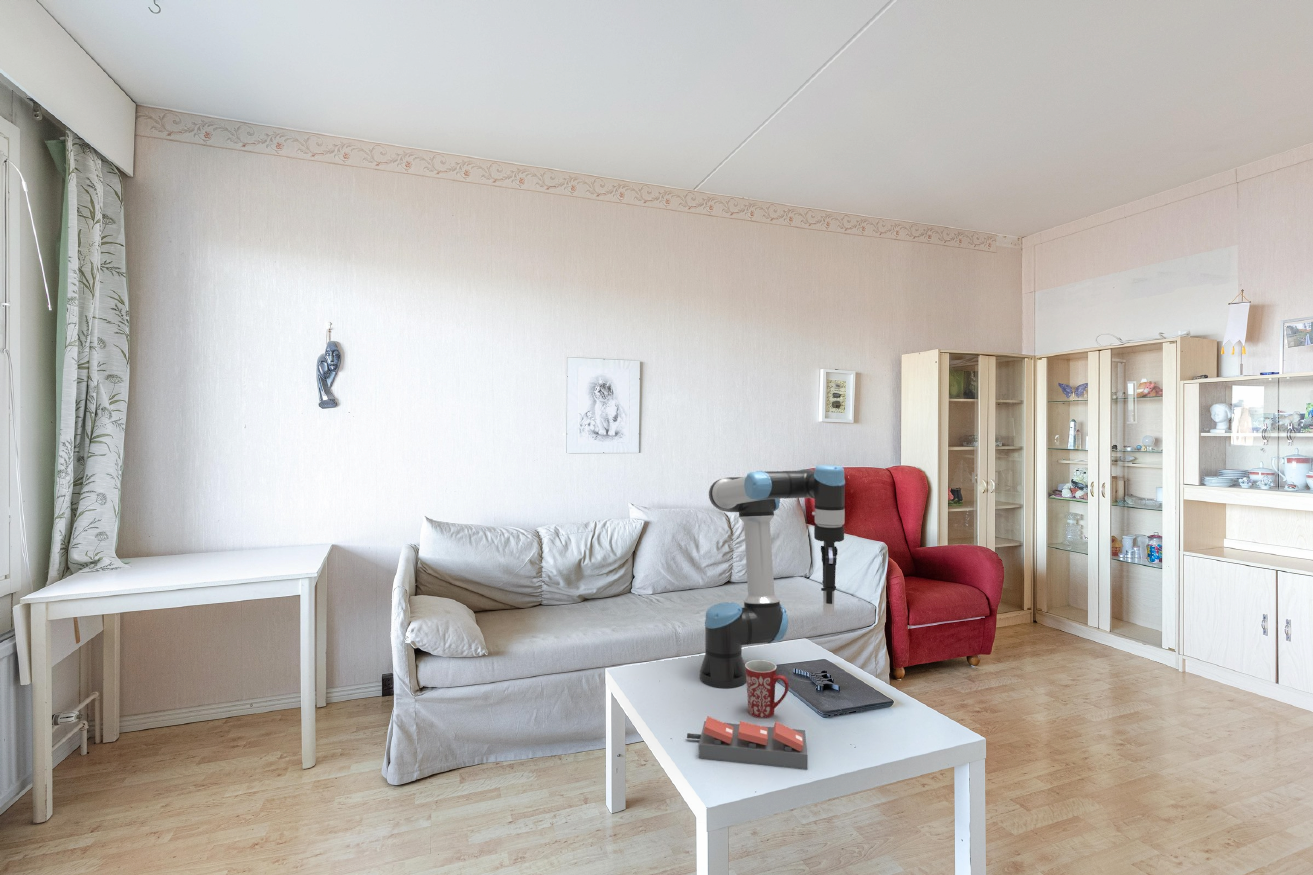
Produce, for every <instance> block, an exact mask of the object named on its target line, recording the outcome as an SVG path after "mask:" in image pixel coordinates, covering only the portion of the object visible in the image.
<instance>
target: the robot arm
mask: <svg viewBox="0 0 1313 875" xmlns="http://www.w3.org/2000/svg"><path fill="white" fill-rule="evenodd" d="M845 485H846V479H845V469H844V467H843V466H841V465H836V464H835V465H834V464H833V465H832V464H822V465H821V464H820V465H819V464H818V465H817V466H815V467H814V470H812V469H810V468H807V469H805V468H804V469H803V468H801V469H797V470H780V471H778V470H777V471H776V470H775V471H773V470H771V471H770V470H769V471H768V470H767V471H763V470H756V471H751V472H750V471H749V472H748V473H747V474H746V476H739V477H738V476H735V477H734V476H733V477H732V476H731V477H730V476H729V477H724V478H719V479H717V480H716V481H714V482H713V483H712V484H711V485H710V487H709V490H708V499H709V501H710V503H711V505H712V506H713V507H714V508H716V509H718V510H719V511H722V512H727V513H738V518H739V519H740V520H741V521H742V522H743V528H744V530H743V531H744V544H745V545H744V547H745V562H746V577H747V578H746V580H747V581H746V583H747V596H746V597H745V599H744V600H743V607H742V605H741V604H739V603H737V602H721V603H716V604H713V605H712V606H709V607H708V608H707V610H706V611H705V620H704V628H705V631H704V632H705V636H704V637H705V639H704V640H705V642H704V643H705V645H704V647H705V653H704V657H703V660H702V662H701V666H700V670H699V679H700V681H701V682H702V683H704V684H706V685H708V686H710V687H714V688H723V689H729V688H731V689H732V688H737V687H740V686H743V685H744V684H746V683H747V681H746V668H745V664H746V663H745V661H744V659H743V655H742V649H743V646H748V645H756V644H772V643H775V642H780V641H782V640H783V639H784V638H785V636H786V635H787V633H788V626H789V617H788V613H787V608H786V607H785V606H784V605H783V604H781V603H780V602H781V601H780V599H779V598H778V597H777V596H776V595H775V580H774V568H773V567H774V566H773V551H772V534H771V533H772V532H771V521H772V519H774V517H775V512H776V511H777V510H779V508H780V504H781V499H782V500H783V499H784V500H785V499H814V502H813V503H814V511H812V513H811V515H812V516H814V523H815V525H814V526H813V529H814V530H813V532H814V534H813V535H814V539H815V540H816V541H818V542H823V545H820V553H821V563H822V584H823V585H822V587H821V590H820V591H821V592H823V593H822V600H823V601H822V614H823V616H827V617H828V616H829V617H835V592H836V589H837V586H836V568H837V567H836V566H837V560H838V559H837V556H838V553H839V552H838V548H837V546H835V544H836V543H838V542H839V543H841V542H842V541H844V540H845V527H844V524H845V518H846V516H845V514H846V513H845V494H846V493H845V490H846V489H845V488H846V486H845Z"/></svg>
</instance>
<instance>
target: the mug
mask: <svg viewBox="0 0 1313 875" xmlns="http://www.w3.org/2000/svg"><path fill="white" fill-rule="evenodd" d="M744 664H745V668H746V691H747V692H746V694H747V696H746V698H747V709H748V710H747V712H748V714H750V715H751V716H752V717H755V718H758V719H759V718H760V719H767V718H771V717H772V716H774V714H775V708H776V707H778V706H779V705H780V703H782V701H783V700H784V699H785V698H786V696H787V694H788V692H789V687H790V685H789V680H788V678H787V677H786V676H785V675H782V674H777V664H775V662H772V661H769V660H763V659H753V660H748V661H747V662H745V663H744ZM778 680H781V681H782V682H783V683H784V691H783V694H782V695H781V697H780V698H779V699H778V700H776V698H775V697H776V684H777V681H778ZM775 700H776V701H775Z"/></svg>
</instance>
